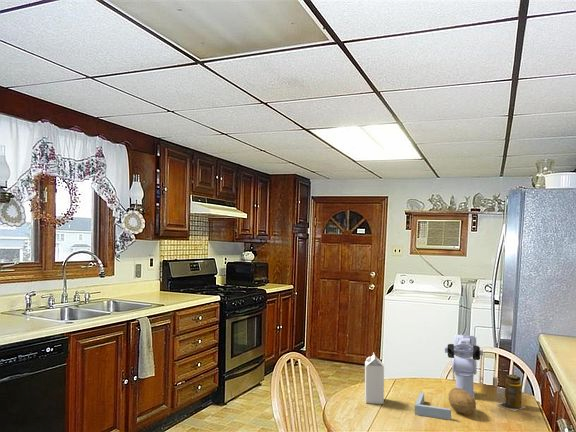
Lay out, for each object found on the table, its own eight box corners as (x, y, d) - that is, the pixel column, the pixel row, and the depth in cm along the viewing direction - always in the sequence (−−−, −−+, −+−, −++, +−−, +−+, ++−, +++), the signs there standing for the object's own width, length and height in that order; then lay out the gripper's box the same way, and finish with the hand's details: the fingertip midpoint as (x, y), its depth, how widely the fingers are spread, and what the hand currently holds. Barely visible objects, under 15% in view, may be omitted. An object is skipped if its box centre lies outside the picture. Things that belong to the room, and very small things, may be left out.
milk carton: (381, 398, 195) (382, 352, 196) (383, 404, 188) (383, 356, 189) (364, 397, 196) (364, 351, 196) (365, 403, 188) (366, 356, 189)
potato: (457, 419, 173) (457, 397, 173) (443, 405, 187) (443, 385, 188) (483, 419, 173) (482, 397, 174) (467, 405, 188) (466, 385, 188)
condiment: (526, 407, 186) (526, 377, 187) (514, 411, 182) (514, 380, 182) (509, 401, 193) (508, 372, 193) (497, 405, 188) (496, 375, 188)
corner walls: (420, 400, 192) (420, 392, 192) (453, 405, 187) (453, 396, 187) (414, 414, 177) (414, 405, 178) (450, 420, 172) (450, 410, 173)
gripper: (445, 337, 198) (443, 343, 186) (482, 340, 193) (482, 346, 180) (445, 354, 198) (443, 361, 185) (482, 357, 192) (483, 365, 180)
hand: (463, 355), depth 183 cm, fingers open, 7 cm apart
